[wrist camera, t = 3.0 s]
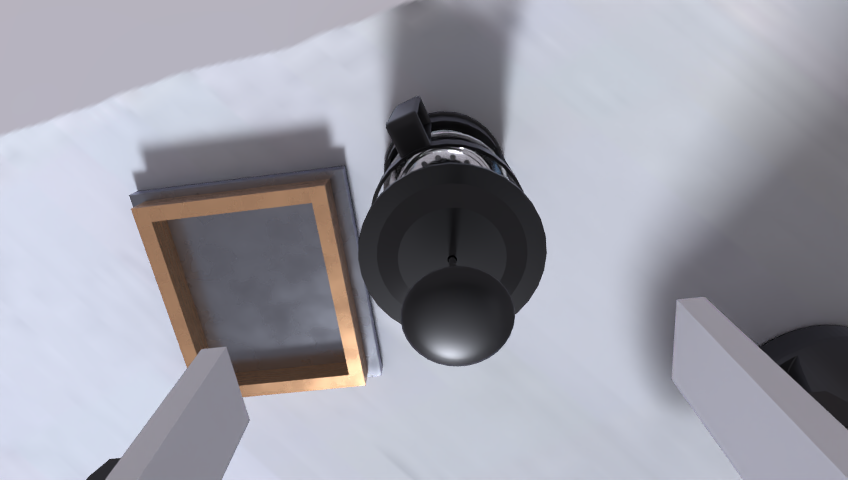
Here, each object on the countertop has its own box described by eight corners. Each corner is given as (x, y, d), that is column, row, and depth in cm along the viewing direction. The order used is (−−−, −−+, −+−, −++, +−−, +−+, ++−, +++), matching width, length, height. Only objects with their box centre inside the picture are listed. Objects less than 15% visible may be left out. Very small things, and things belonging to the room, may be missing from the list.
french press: (524, 207, 41) (627, 391, 19) (418, 252, 42) (405, 468, 21) (467, 68, 37) (516, 101, 15) (353, 122, 38) (253, 223, 17)
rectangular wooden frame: (345, 165, 40) (337, 175, 37) (382, 367, 46) (379, 389, 43) (137, 191, 41) (114, 202, 38) (204, 385, 47) (188, 408, 44)
